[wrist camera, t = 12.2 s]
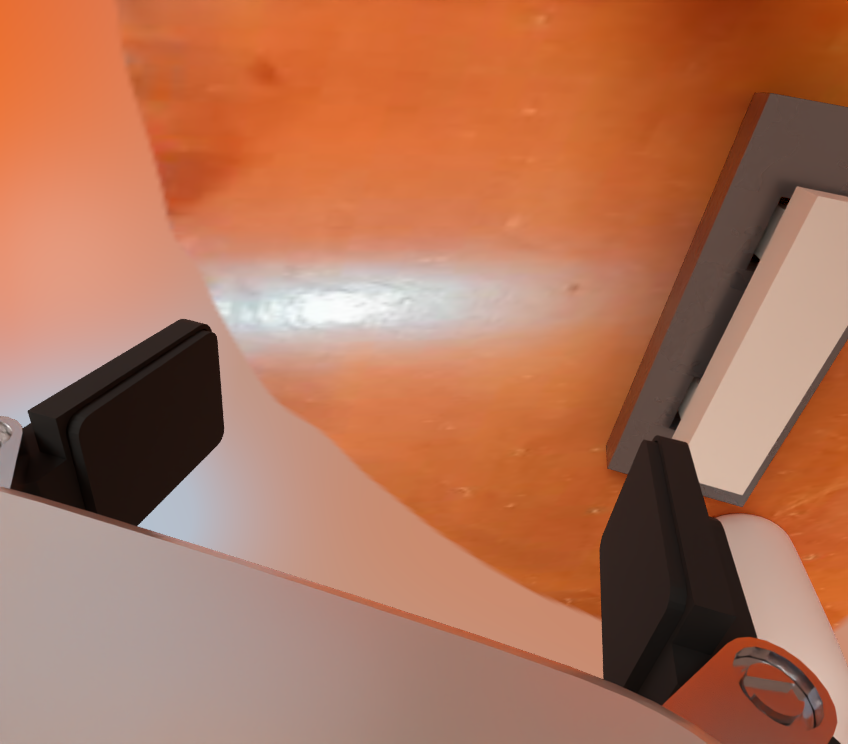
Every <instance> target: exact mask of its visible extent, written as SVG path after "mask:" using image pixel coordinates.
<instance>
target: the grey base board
mask: <svg viewBox="0 0 848 744" xmlns="http://www.w3.org/2000/svg"><path fill="white" fill-rule="evenodd" d="M797 186H798V187H803V188H808V189H813V190H817V191H822V192H827V193H832V194H837V195H842V196H846V197H848V107H844V106H838V105H833V104H827V103H822V102H816V101H811V100H805V99H800V98H795V97H789V96H784V95H778V94H773V93H755V94H754V96H753V98H752V101H751V103H750V105H749V108H748V110H747V113H746V115H745V117H744V120H743V122H742V124H741V127H740V129H739V132H738V134H737V136H736V139H735V141H734V143H733V146H732V148H731V151H730V153H729V155H728V158H727V160H726V162H725V165H724V167H723V170H722V172H721V174H720V177H719V179H718V181H717V184H716V186H715V189H714V191H713V193H712V196H711V198H710V200H709V203H708V205H707V208H706V210H705V212H704V215H703V217H702V219H701V222H700V224H699V227H698V229H697V231H696V234H695V236H694V238H693V241H692V243H691V246H690V248H689V250H688V253H687V255H686V257H685V260H684V262H683V265H682V267H681V269H680V272H679V274H678V276H677V279H676V281H675V283H674V286H673V288H672V291H671V293H670V295H669V298H668V300H667V302H666V305H665V307H664V310H663V312H662V314H661V317H660V319H659V321H658V324H657V326H656V329H655V331H654V333H653V336H652V338H651V340H650V343H649V345H648V348H647V350H646V352H645V355H644V357H643V359H642V362H641V364H640V367H639V369H638V371H637V374H636V376H635V378H634V381H633V383H632V386H631V388H630V390H629V393H628V395H627V397H626V400H625V402H624V405H623V407H622V409H621V412H620V414H619V416H618V419H617V421H616V424H615V426H614V428H613V431H612V433H611V435H610V438H609V440H608V443H607V445H606V453H607V468H608V469H611V470H615V471H618V472H622V473H625V474H628V473H629V471H630V468H631V466H632V463H633V461H634V459H635V456H636V454H637V451H638V449H639V447H640V444H641V442H642V441H643V440H649V441H652V440H653V438H654V437H655V436H656V435H659V436H663V437H667V438H671V439H672V437H673V435H674V433H675V431H676V429H677V427H678V425H679V423H680V421H681V418H680V415H679V412H678V409H679V407H680V405H681V402H682V400H683V398H684V396H685V394H686V392H687V390H688V388H689V386H690V384H691V382H692V380H693V378H694V377H698V378H702V376H703V374H704V372H705V370H706V368H707V366H708V364H709V362H710V360H711V358H712V356H713V354H714V352H715V350H716V348H717V346H718V344H719V342H720V340H721V338H722V336H723V334H724V332H725V330H726V328H727V326H728V324H729V322H730V320H731V318H732V316H733V314H734V312H735V310H736V308H737V306H738V304H739V302H740V300H741V298H742V296H743V294H744V292H745V290H746V288H747V286H748V284H749V282H750V280H751V278H752V276H753V274H754V272H755V270H756V268H757V266H758V264H759V262H754V261H750V260H751V258H752V256H753V254H754V252H755V250H756V248H757V246H758V244H759V242H760V240H761V238H762V235H763V233H764V231H765V229H766V227H767V225H768V223H769V221H770V219H771V217H772V215H773V213H774V211H775V209H776V207H777V205H778V202H779V200H780V198H781V197H785V198H790V199H791V197H792V195H793V193H794V191H795V189H796V187H797ZM847 339H848V326H847V328H846V329H845V331H844V332H843V334H842V336H841V337H840V339H839V340H838V342H837V344H836V345H835V347H834V348H833V350H832V352H831V353H830V355H829V357H828V358H827V360H826V361H825V363H824V365H823V366H822V368H821V369H820V371H819V373H818V374H817V376H816V378H815V379H814V381H813V382H812V384H811V386H810V387H809V389H808V390H807V392H806V394H805V395H804V397H803V398H802V400H801V402H800V403H799V405H798V407H797V408H796V410H795V411H794V413H793V415H792V416H791V418H790V419H789V421H788V423H787V424H786V426H785V427H784V429H783V431H782V432H781V434H780V436H779V437H778V439H777V440H776V442H775V444H774V445H773V447H772V448H771V450H770V452H769V453H768V455H767V457H766V458H765V460H764V461H763V463H762V465H761V466H760V468H759V469H758V471H757V473H756V474H755V476H754V477H753V479H752V481H751V482H750V484H749V486H748V487H747V489H746V490H745V492H744V494H743V495H740V494H736V493H733V492H729V491H726V490H722V489H719V488H715V487H712V486H708V485H705V484H701V483H699V484H700V487H701V491H702V494H703V496H705V497H709V498H712V499H716V500H719V501H723V502H726V503H730V504H733V505H737V506H740V507H743V505H744V504H745V502H746V501H747V499H748V498H749V496H750V494H751V493H752V491H753V490H754V488H755V486H756V485H757V483H758V482H759V480H760V478H761V477H762V475H763V474H764V472H765V470H766V469H767V467H768V466H769V464H770V462H771V461H772V459H773V458H774V456H775V454H776V453H777V451H778V450H779V448H780V446H781V445H782V443H783V442H784V440H785V438H786V437H787V435H788V434H789V432H790V430H791V429H792V427H793V426H794V424H795V422H796V421H797V419H798V418H799V416H800V415H801V413H802V411H803V410H804V408H805V407H806V405H807V403H808V402H809V400H810V399H811V397H812V395H813V394H814V392H815V391H816V389H817V387H818V386H819V384H820V383H821V381H822V379H823V378H824V376H825V375H826V373H827V371H828V370H829V368H830V367H831V365H832V363H833V362H834V360H835V359H836V357H837V355H838V354H839V352H840V351H841V349H842V347H843V346H844V344H845V343H846V341H847Z"/></svg>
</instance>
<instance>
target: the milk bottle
mask: <svg viewBox="0 0 848 744" xmlns="http://www.w3.org/2000/svg"><path fill="white" fill-rule="evenodd" d="M715 518H716V519H718V520H719V521H720V522H721V523H722V525H723V528H724V530H725V534H726V537H727V540H728V543H729V547H730V550H731V553H732V556H733V560H734V563H735V566H736V569H737V573H738V576H739V579H740V582H741V586H742V589H743V592H744V595H745V599H746V602H747V605H748V608H749V612H750V615H751V618H752V621H753V625H754V628H755V631H756V634H757V638H758V639H761V640H766V641H768V642H770V643H772V644H775V645H777V646H779V647H781V648H783V649H785V650H786V651H788V652H789V653H791V654H792V655H793V656H795V657H796V658H798V659H799V660H801V661H802V662H803V663H804V664H805V665H806V666H807V667H808V668H809V669H810V670H811V671H812V672H813V673H814V674H815V675H816V676H817V677H818V679H819V680H820V681H821V683H822V684H823V685H824V687H825V688H826V689H827V691H828V693H829V695H830V697H831V699H832V701H833V703H834V705H835V709H836V715H837V722H838V723H837V726H836V729H835V732H834V735H833V736H834V737H835V738H836V739H837V740H838V741H839V742H840V743H841V744H848V666H847V663H846V661H845V658H844V656H843V653H842V651H841V649H840V646H839V644H838V641H837V639H836V637H835V634H834V632H833V630H832V627H831V625H830V623H829V621H828V619H827V616H826V614H825V612H824V610H823V607H822V605H821V603H820V601H819V599H818V596H817V594H816V592H815V590H814V588H813V586H812V583H811V581H810V579H809V577H808V575H807V573H806V570H805V568H804V566H803V564H802V562H801V560H800V558H799V555H798V553H797V551H796V549H795V547H794V545H793V543H792V541H791V539H790V537H789V536H788V535H787V533H786V532H785V531H784V530H783V529H782V528H781V527H779V526H778V525H776V524H775V523H773V522H772V521H770V520H768V519H765V518H763V517H760V516H756V515H753V514H744V513H736V514H727V515H721V516H719V517H715Z"/></svg>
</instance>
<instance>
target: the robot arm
mask: <svg viewBox="0 0 848 744" xmlns="http://www.w3.org/2000/svg"><path fill="white" fill-rule="evenodd" d="M28 414H29V417H30V421H31V423H30V424H29V425H27V426H26V427H24V428H22V426H21V425H20V424H19V422H18V421H16V420H14V419H11V418H9V417H4V416H0V744H841V743H840V742H839V741H838V740H837V739H836V738H835V737H834V736H833V735H834V732H835V729H836V726H837V723H838V722H837V715H836V709H835V705H834V703H833V701H832V699H831V697H830V695H829V693H828V691H827V689H826V688H825V687H824V685H823V684H822V683H821V681H820V680H819V679H818V677H817V676H816V675H815V674H814V673H813V672H812V671H811V670H810V669H809V668H808V667H807V666H806V665H805V664H804V663H803V662H802V661H801V660H799V659H798V658H796V657H795V656H793V655H792V654H791V653H789V652H788V651H786V650H785V649H783V648H781V647H779V646H777V645H775V644H772V643H770V642H768V641H766V640H761V639H758V638H757V634H756V631H755V628H754V625H753V621H752V618H751V615H750V612H749V608H748V605H747V602H746V599H745V595H744V592H743V589H742V586H741V582H740V579H739V576H738V573H737V569H736V566H735V563H734V560H733V556H732V553H731V550H730V547H729V543H728V540H727V537H726V534H725V530H724V528H723V525H722V523H721V522H720V521H719V520H718V519H716V518H712V517H709V516H708V512H707V509H706V505H705V502H704V498H703V494H702V491H701V487H700V484H699V480H698V477H697V473H696V470H695V466H694V462H693V459H692V455H691V452H690V448H689V445H688V443H686V442H683V441H679V440H675V439H671V438H667V437H663V436H659V435H656V436H655V437H654V438H653V440H652V441H649V440H643V441H642V442H641V444H640V447H639V449H638V451H637V454H636V456H635V459H634V461H633V463H632V466H631V468H630V471H629V473H628V475H627V478H626V480H625V483H624V485H623V487H622V490H621V492H620V495H619V497H618V499H617V502H616V504H615V507H614V509H613V511H612V514H611V516H610V519H609V521H608V523H607V526H606V528H605V531H604V533H603V536H602V539H601V544H600V580H601V613H602V644H603V674H604V675H603V677H604V679H601V678H598V677H596V676H593V675H590V674H588V673H585V672H583V671H580V670H578V669H574V668H572V667H570V666H567V665H564V664H561V663H558V662H555V661H552V660H549V659H546V658H543V657H540V656H537V655H535V654H532V653H529V652H526V651H523V650H520V649H517V648H514V647H511V646H508V645H505V644H502V643H499V642H496V641H494V640H491V639H488V638H485V637H482V636H479V635H476V634H472V633H470V632H466V631H463V630H460V629H457V628H454V627H451V626H448V625H445V624H442V623H439V622H436V621H433V620H430V619H427V618H423V617H420V616H417V615H414V614H411V613H408V612H405V611H402V610H399V609H396V608H393V607H389V606H386V605H383V604H380V603H377V602H374V601H371V600H368V599H365V598H362V597H359V596H356V595H352V594H349V593H346V592H343V591H340V590H336V589H334V588H331V587H328V586H324V585H321V584H318V583H315V582H312V581H309V580H306V579H302V578H299V577H296V576H293V575H290V574H287V573H284V572H281V571H277V570H274V569H271V568H268V567H265V566H262V565H259V564H255V563H252V562H249V561H246V560H243V559H240V558H236V557H233V556H230V555H227V554H224V553H221V552H217V551H214V550H211V549H208V548H205V547H202V546H198V545H195V544H192V543H189V542H186V541H183V540H179V539H176V538H173V537H170V536H166V535H163V534H160V533H157V532H154V531H150V530H147V529H144V528H140V527H138V526H137V525H139V524H140V523H141V521H143V519H145V517H146V516H148V514H150V513H151V512H152V511H153V510H154V508H156V506H157V505H158V504H160V502H162V500H164V498H165V497H166V496H167V495H169V494H170V492H171V491H172V490H173V489H174V488H175V487H176V486H177V485H178V484H179V483H180V482H181V481H182V480H183V479H184V478H185V477H186V476H187V475H188V474H189V473H190V472H191V471H192V470H193V469H194V468H195V467H196V466H197V465H198V464H199V463H200V462H201V461H202V460H203V459H204V458H205V457H206V456H207V455H208V454H209V453H210V452H211V451H212V450H213V449H214V448H215V447H216V446H217V445H218V444H219V443H220V441H221V439H222V437H223V434H224V421H223V408H222V395H221V381H220V368H219V355H218V342H217V336H216V334H215V333H213V332H212V331H211V329H210V327H209V326H208V325H207V324H203V323H198V322H195V321H191V320H187V319H180V320H178V321H176V322H175V323H173V324H171V325H170V326H168V327H166V328H165V329H163V330H161V331H160V332H158V333H156V334H155V335H153V336H151V337H150V338H148V339H146V340H145V341H143V342H141V343H140V344H138V345H136V346H135V347H133V348H131V349H130V350H128V351H126V352H125V353H123V354H121V355H120V356H118V357H116V358H115V359H113V360H111V361H110V362H108V363H106V364H105V365H103V366H101V367H100V368H98V369H96V370H95V371H93V372H91V373H90V374H88V375H86V376H85V377H83V378H81V379H80V380H78V381H77V382H75V383H73V384H71V385H70V386H68V387H66V388H65V389H63V390H61V391H60V392H58V393H56V394H55V395H53V396H51V397H50V398H48V399H46V400H45V401H43V402H41V403H40V404H38V405H36V406H35V407H33V408H31V409H30V410H28Z"/></svg>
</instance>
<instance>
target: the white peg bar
mask: <svg viewBox="0 0 848 744" xmlns="http://www.w3.org/2000/svg"><path fill="white" fill-rule="evenodd" d="M754 254H755V255H756V256H757V257H758V258H759V259H760V262H759V264H758V266H757V268H756V270H755V272H754V274H753V276H752V278H751V280H750V282H749V284H748V286H747V288H746V290H745V292H744V294H743V296H742V298H741V300H740V302H739V304H738V306H737V308H736V310H735V312H734V314H733V316H732V318H731V320H730V322H729V324H728V326H727V328H726V330H725V332H724V334H723V336H722V338H721V340H720V342H719V344H718V346H717V348H716V350H715V352H714V354H713V356H712V358H711V360H710V362H709V364H708V366H707V368H706V370H705V372H704V374H703V376H702V378H698V377H694V378H693V380H692V382H691V384H690V386H689V388H688V390H687V392H686V394H685V396H684V398H683V400H682V402H681V405H680V407H679V409H678V412H679V415H680V418H681V421H680V423H679V425H678V427H677V429H676V431H675V433H674V435H673V437H672V439H675V440H679V441H683V442H686V443H688V445H689V448H690V452H691V455H692V459H693V462H694V466H695V470H696V473H697V477H698V480H699V483H701V484H705V485H708V486H712V487H715V488H719V489H722V490H726V491H729V492H733V493H736V494H740V495H743V494H744V492H745V490H746V489H747V487H748V486H749V484H750V482H751V481H752V479H753V477H754V476H755V474H756V473H757V471H758V469H759V468H760V466H761V465H762V463H763V461H764V460H765V458H766V457H767V455H768V453H769V452H770V450H771V448H772V447H773V445H774V444H775V442H776V440H777V439H778V437H779V436H780V434H781V432H782V431H783V429H784V427H785V426H786V424H787V423H788V421H789V419H790V418H791V416H792V415H793V413H794V411H795V410H796V408H797V407H798V405H799V403H800V402H801V400H802V398H803V397H804V395H805V394H806V392H807V390H808V389H809V387H810V386H811V384H812V382H813V381H814V379H815V378H816V376H817V374H818V373H819V371H820V369H821V368H822V366H823V365H824V363H825V361H826V360H827V358H828V357H829V355H830V353H831V352H832V350H833V348H834V347H835V345H836V344H837V342H838V340H839V339H840V337H841V336H842V334H843V332H844V331H845V329H846V328H847V326H848V197H846V196H842V195H837V194H832V193H827V192H822V191H817V190H813V189H808V188H803V187H798V186H797V187H796V189H795V191H794V193H793V195H792V197H791V199H790V201H789V203H788V205H783V204H779V203H778V205H777V207H776V209H775V211H774V213H773V215H772V217H771V219H770V221H769V223H768V225H767V227H766V229H765V231H764V233H763V235H762V238H761V240H760V242H759V244H758V246H757V248H756V250H755V252H754Z"/></svg>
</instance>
